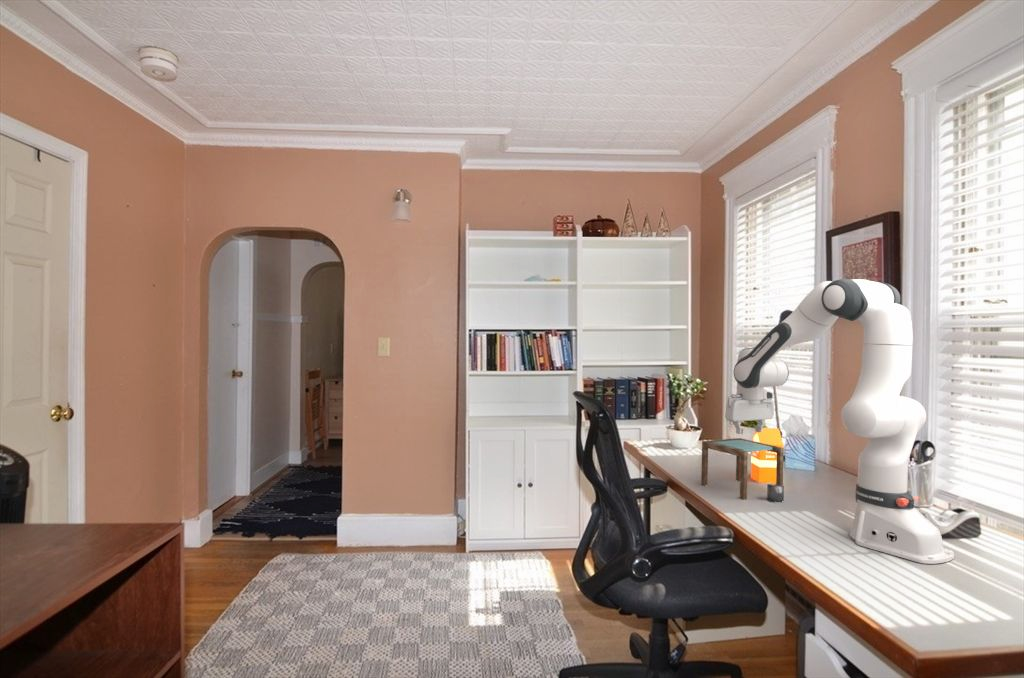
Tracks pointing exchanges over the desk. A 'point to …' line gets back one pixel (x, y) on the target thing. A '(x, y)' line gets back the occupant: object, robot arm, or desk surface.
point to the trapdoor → (744, 445)
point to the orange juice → (765, 456)
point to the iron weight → (775, 492)
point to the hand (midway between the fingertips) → (749, 432)
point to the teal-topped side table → (739, 462)
